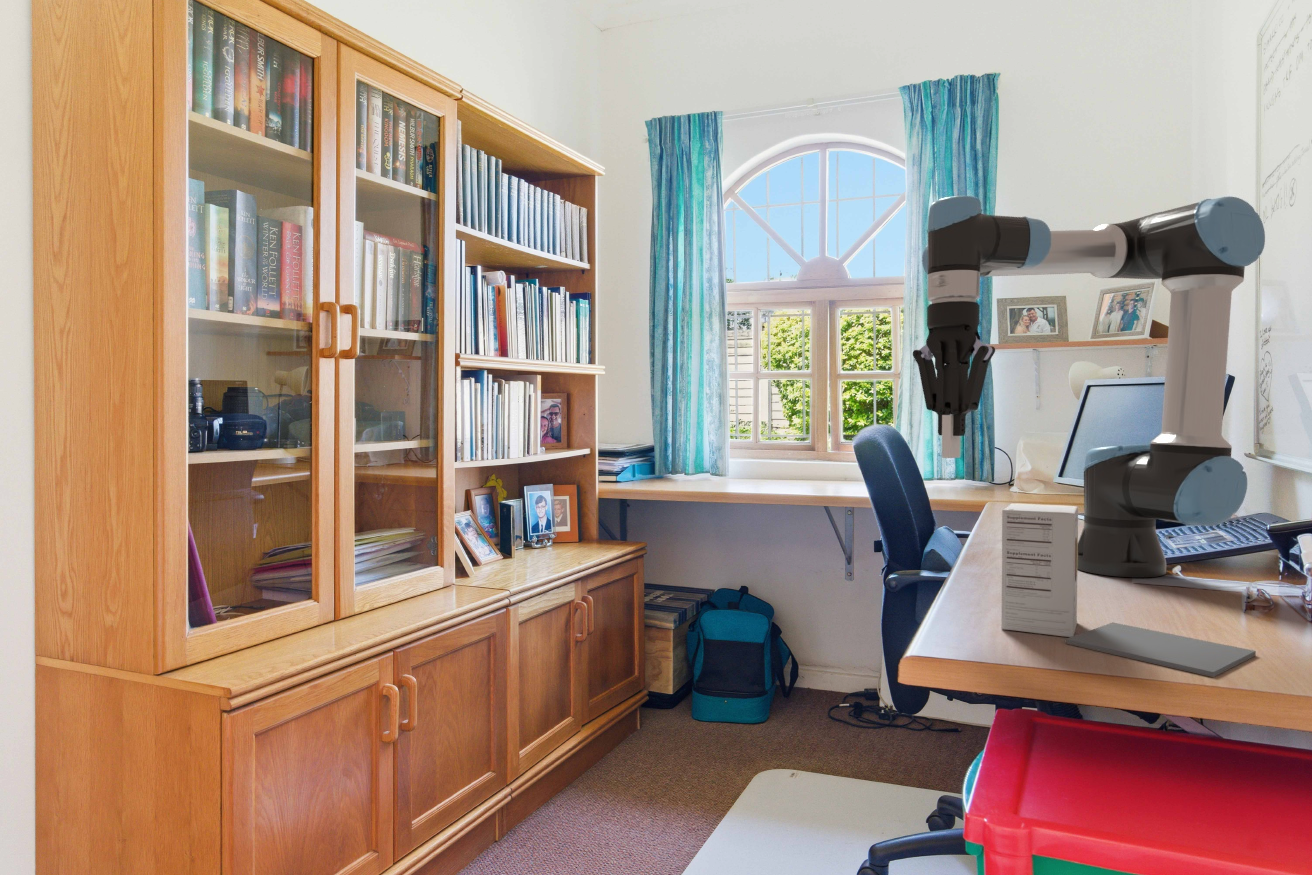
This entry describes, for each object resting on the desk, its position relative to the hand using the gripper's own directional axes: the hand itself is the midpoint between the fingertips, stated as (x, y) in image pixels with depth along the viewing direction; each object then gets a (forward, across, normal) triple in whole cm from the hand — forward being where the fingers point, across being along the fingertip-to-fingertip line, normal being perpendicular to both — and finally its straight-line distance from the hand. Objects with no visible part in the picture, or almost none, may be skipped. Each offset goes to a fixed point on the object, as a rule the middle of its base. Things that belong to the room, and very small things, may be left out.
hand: (951, 457), depth 127 cm
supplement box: (+23, +14, 0) cm, 27 cm away
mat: (+23, +29, +1) cm, 37 cm away
